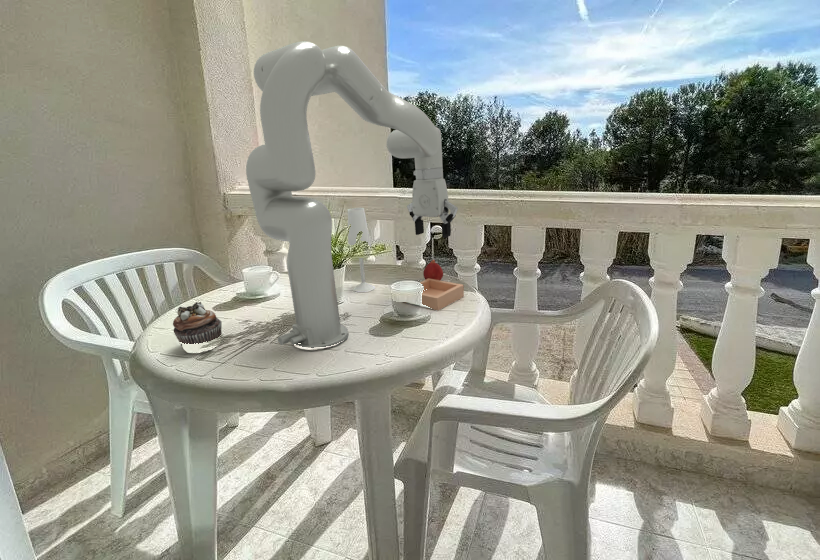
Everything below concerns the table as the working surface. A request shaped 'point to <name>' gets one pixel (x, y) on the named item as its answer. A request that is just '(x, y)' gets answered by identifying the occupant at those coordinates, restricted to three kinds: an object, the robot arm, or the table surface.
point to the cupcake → (196, 324)
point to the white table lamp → (360, 224)
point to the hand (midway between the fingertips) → (432, 235)
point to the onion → (433, 271)
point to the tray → (440, 293)
